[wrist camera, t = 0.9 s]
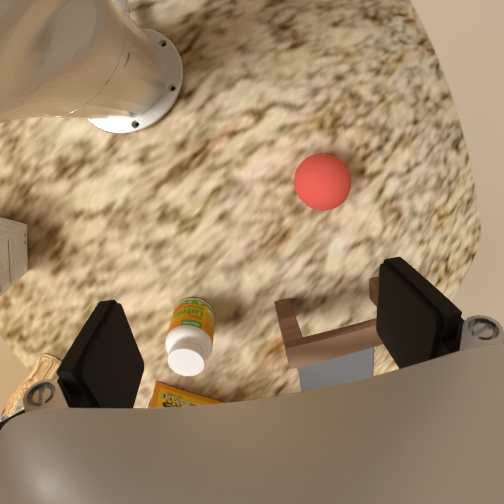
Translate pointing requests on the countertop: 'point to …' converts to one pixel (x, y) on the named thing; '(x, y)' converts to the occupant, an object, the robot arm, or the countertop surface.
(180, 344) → the supplement bottle
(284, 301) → the bridge
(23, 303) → the countertop surface
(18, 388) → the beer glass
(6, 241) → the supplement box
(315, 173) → the ball
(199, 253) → the countertop surface
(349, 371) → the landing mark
